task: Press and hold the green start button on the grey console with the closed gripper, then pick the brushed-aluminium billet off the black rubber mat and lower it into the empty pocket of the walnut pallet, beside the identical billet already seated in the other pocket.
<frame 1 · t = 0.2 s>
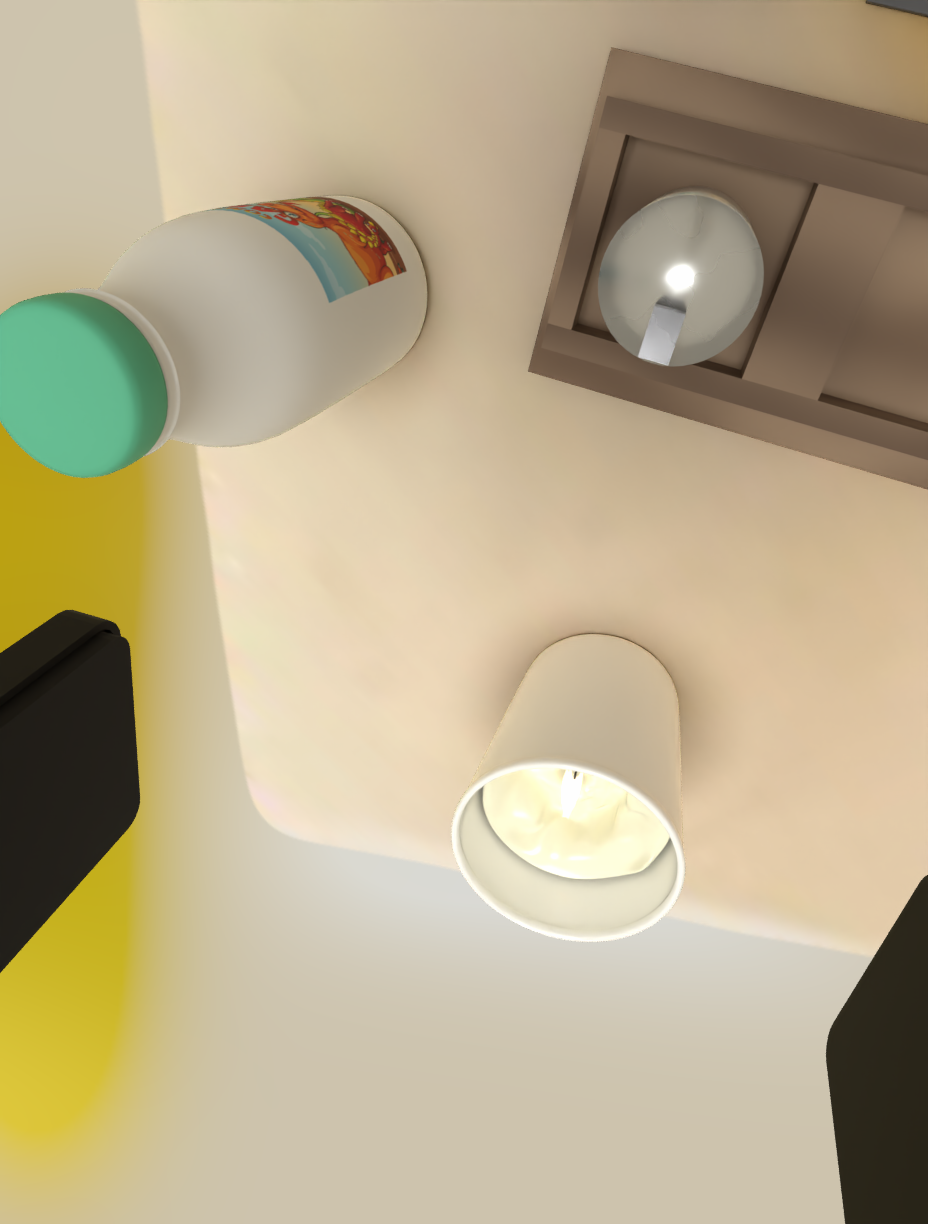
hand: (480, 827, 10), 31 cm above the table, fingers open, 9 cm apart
milk bottle: (352, 288, 38), on the table
candle holder: (599, 697, 45), on the table
pallet: (811, 287, 33), on the table
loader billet: (687, 257, 33), point 1 cm above the table, touching pallet
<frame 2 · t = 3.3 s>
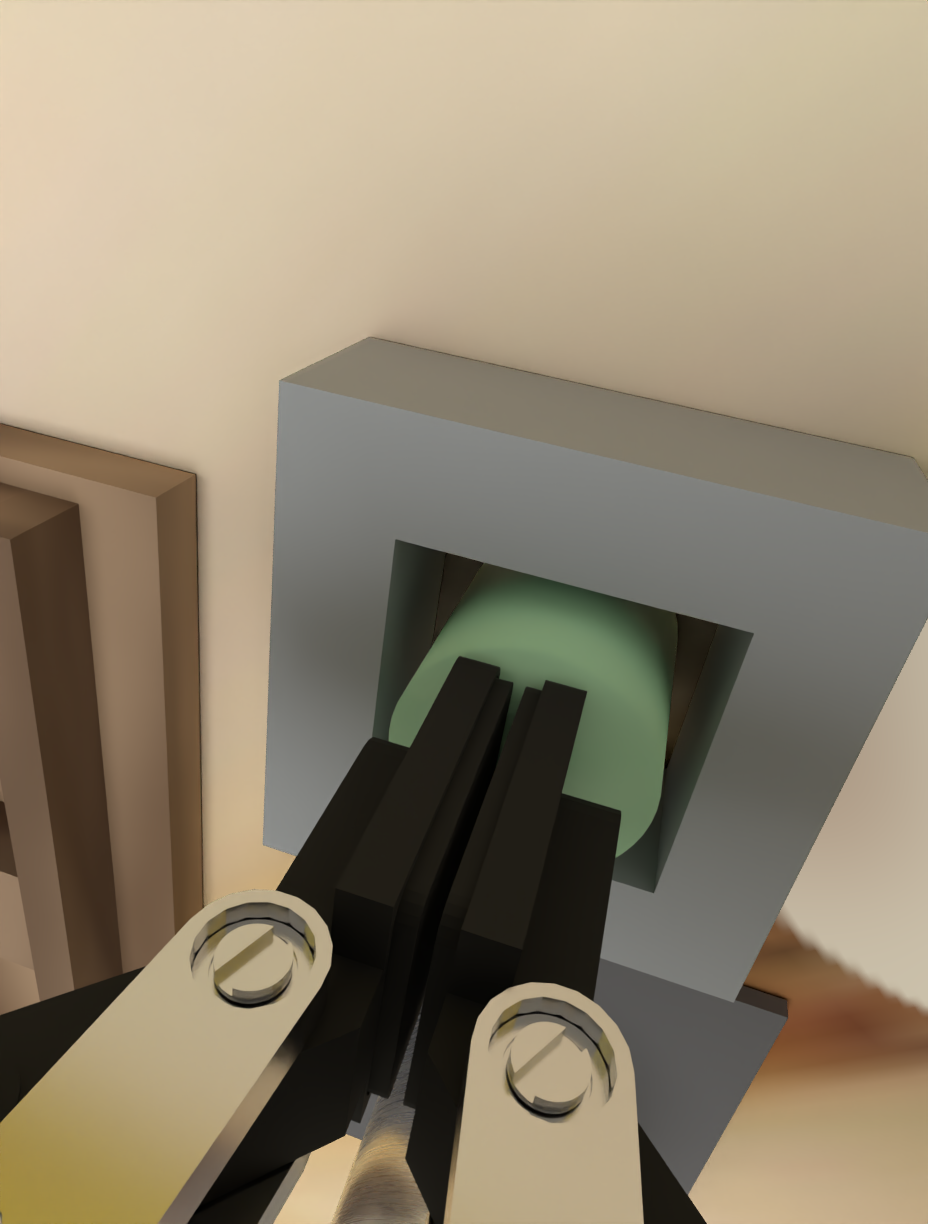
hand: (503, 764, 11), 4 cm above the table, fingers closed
billet: (499, 1074, 20), resting on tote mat
start button: (546, 690, 12), point 2 cm above the table, slide at 0.7 cm, touching gripper
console: (568, 626, 14), on the table
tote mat: (504, 1058, 20), on the table
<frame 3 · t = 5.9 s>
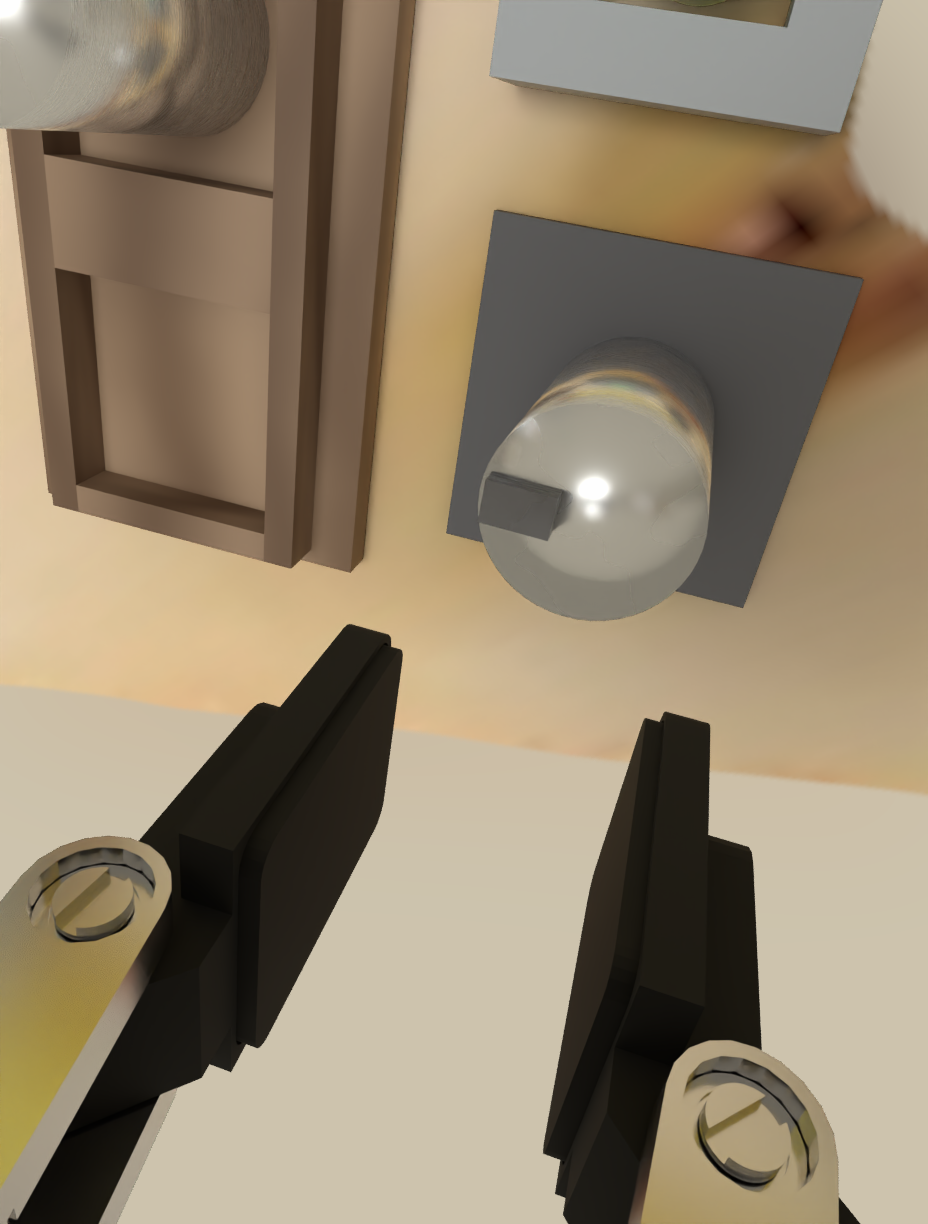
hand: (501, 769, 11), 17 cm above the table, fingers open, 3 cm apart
billet: (627, 423, 25), resting on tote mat
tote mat: (628, 419, 25), on the table
pallet: (209, 228, 26), on the table
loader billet: (184, 30, 22), point 1 cm above the table, touching pallet
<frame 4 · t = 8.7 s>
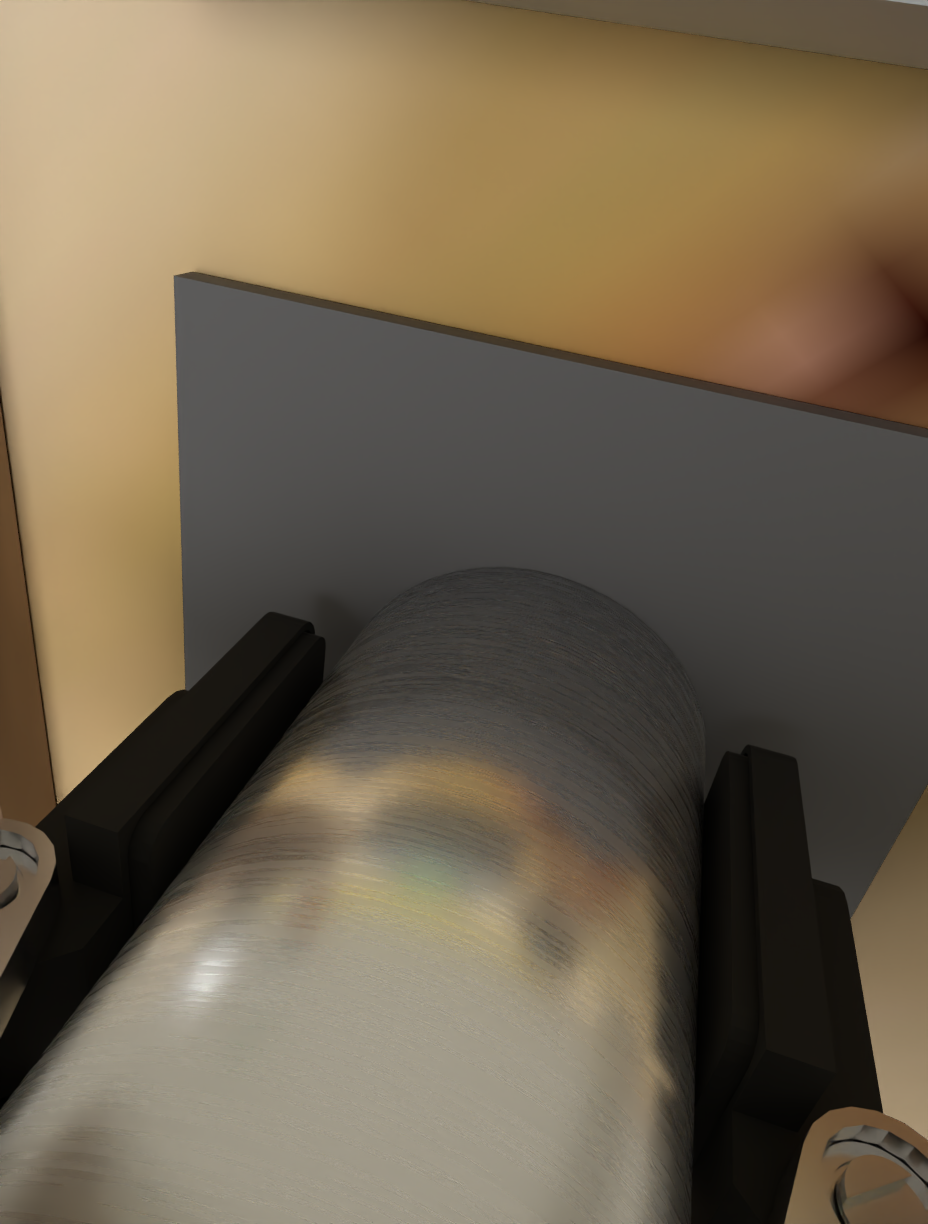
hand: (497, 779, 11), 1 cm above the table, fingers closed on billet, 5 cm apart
billet: (514, 734, 11), resting on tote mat, touching gripper
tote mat: (520, 716, 12), on the table
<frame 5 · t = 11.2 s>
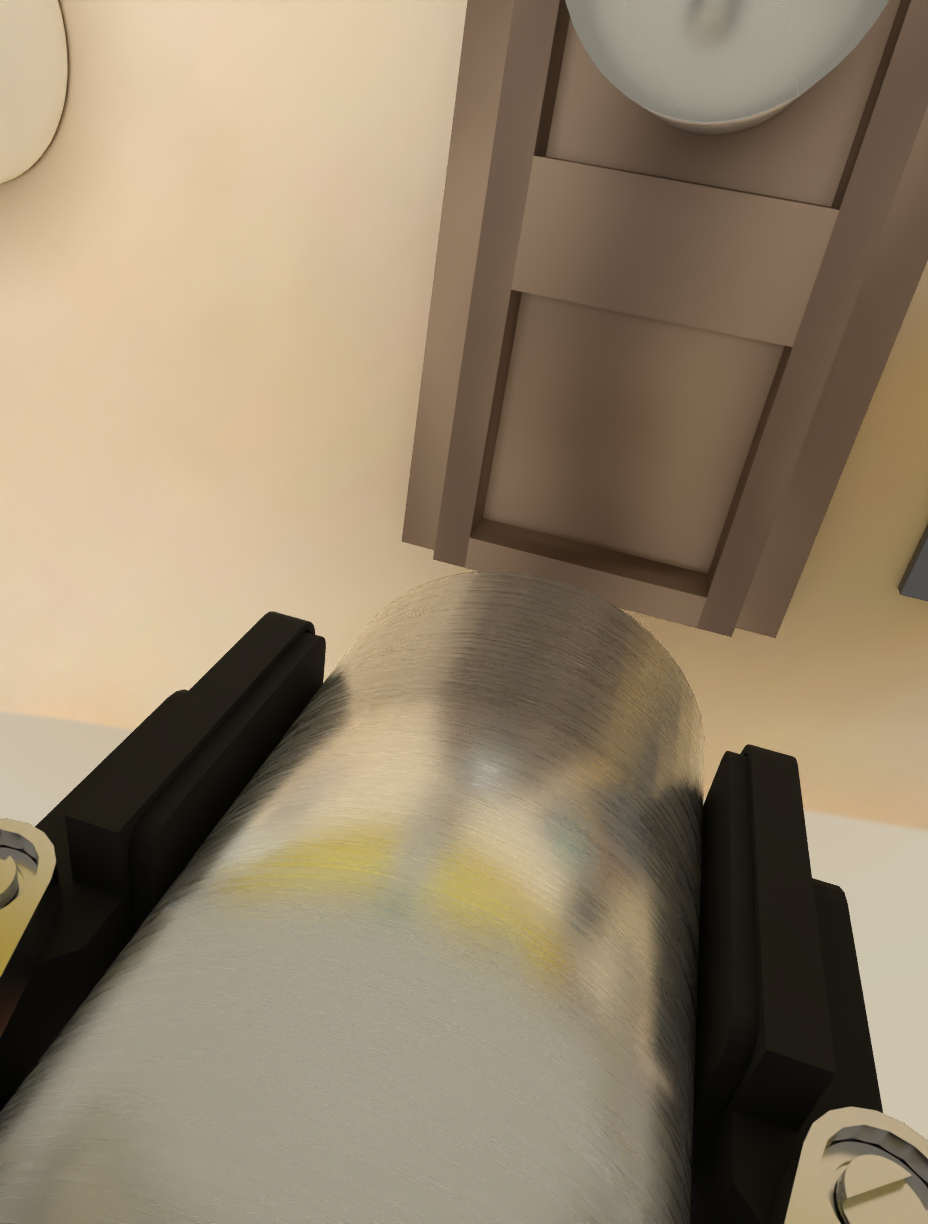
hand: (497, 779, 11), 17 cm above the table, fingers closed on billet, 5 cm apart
billet: (513, 737, 11), point 16 cm above the table, touching gripper
pallet: (670, 242, 22), on the table
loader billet: (728, 6, 19), point 1 cm above the table, touching pallet
when the fingers open (4 cm above the table, at t = 13.8 s): billet drops 2 cm, resting on pallet.
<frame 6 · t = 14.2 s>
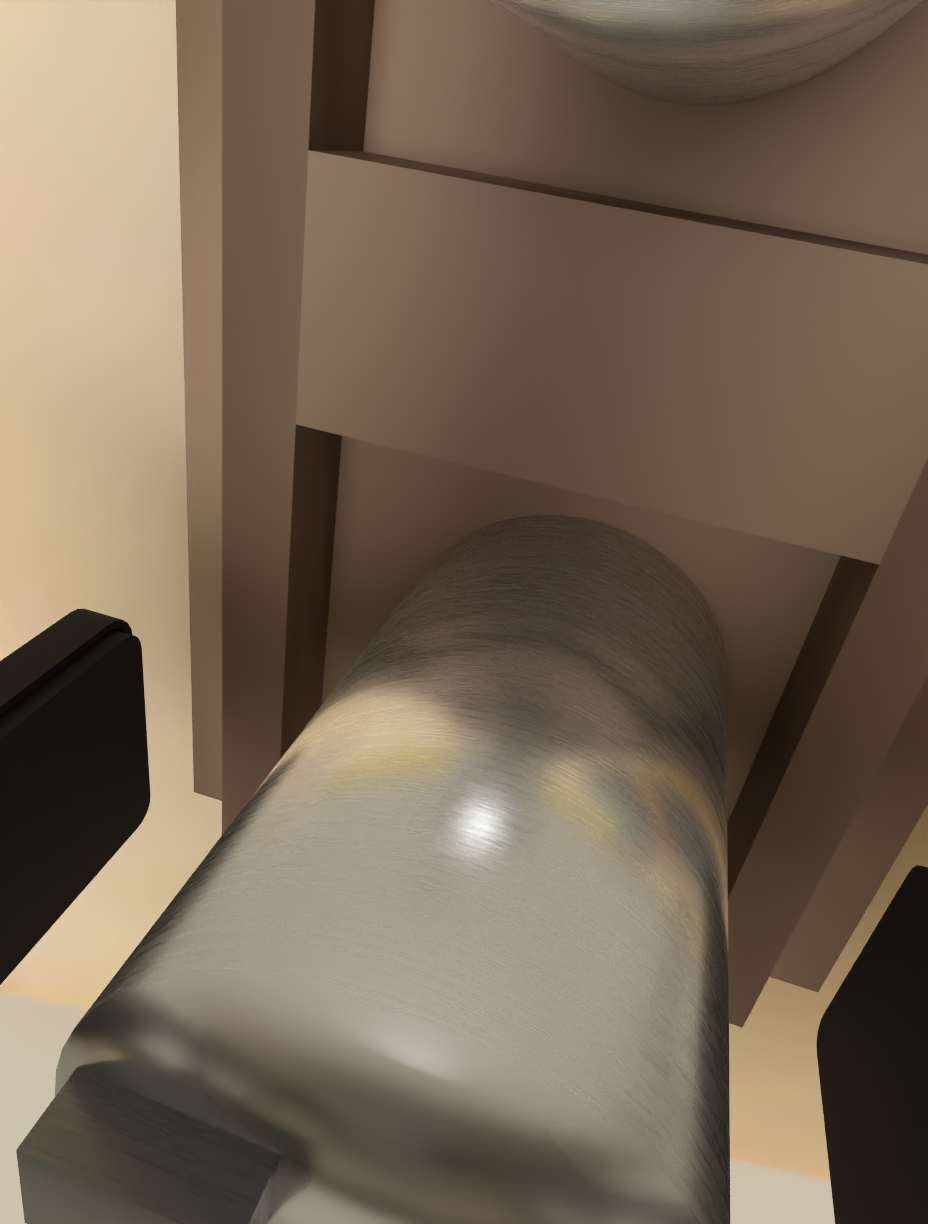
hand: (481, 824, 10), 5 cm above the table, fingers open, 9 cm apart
billet: (555, 668, 13), point 1 cm above the table, touching pallet
pallet: (625, 320, 11), on the table
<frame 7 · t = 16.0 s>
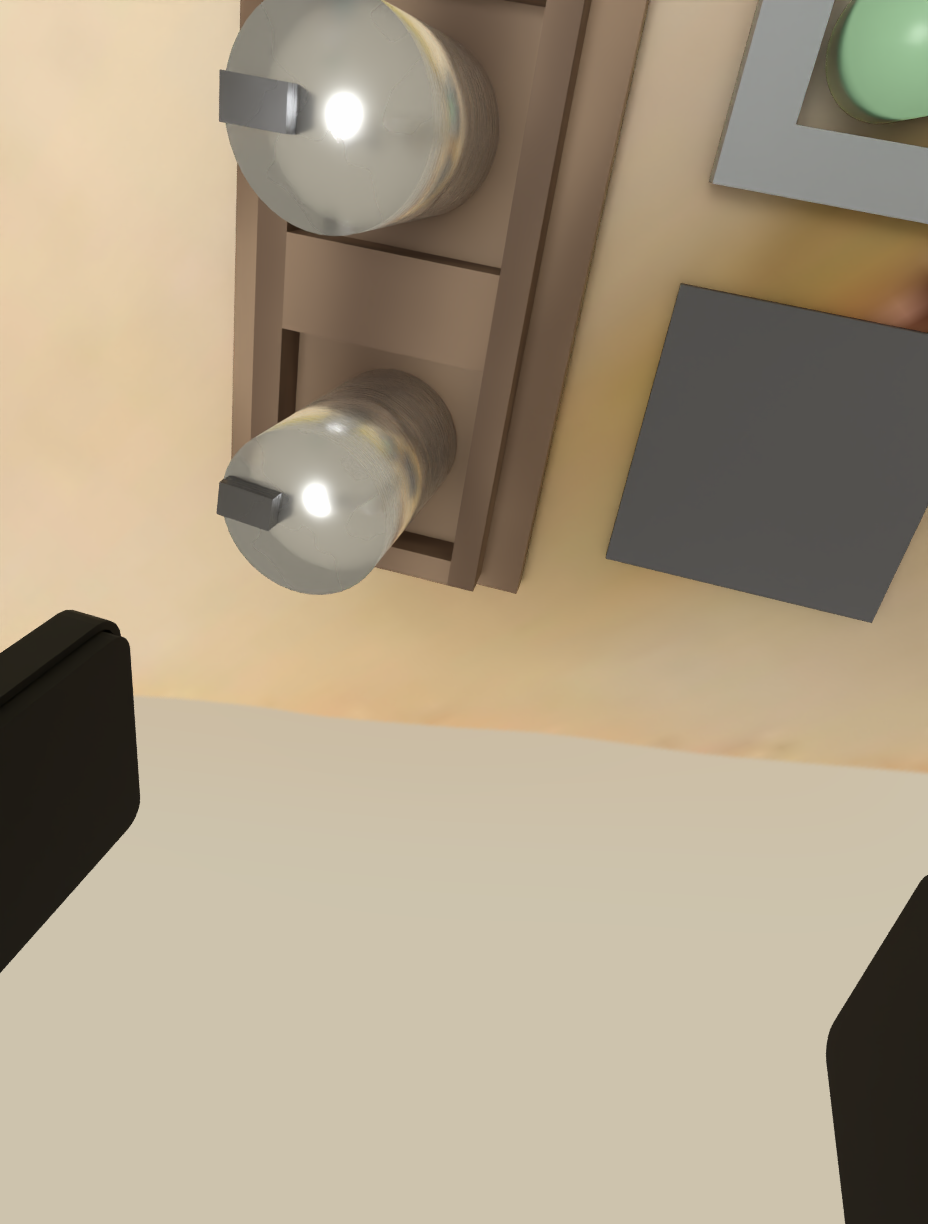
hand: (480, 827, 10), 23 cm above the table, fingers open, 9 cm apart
billet: (390, 438, 31), point 1 cm above the table, touching pallet
start button: (911, 40, 22), point 2 cm above the table, slide at 0.8 cm
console: (895, 49, 23), on the table
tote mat: (781, 461, 29), on the table
pallet: (410, 291, 29), on the table
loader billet: (419, 127, 26), point 1 cm above the table, touching pallet
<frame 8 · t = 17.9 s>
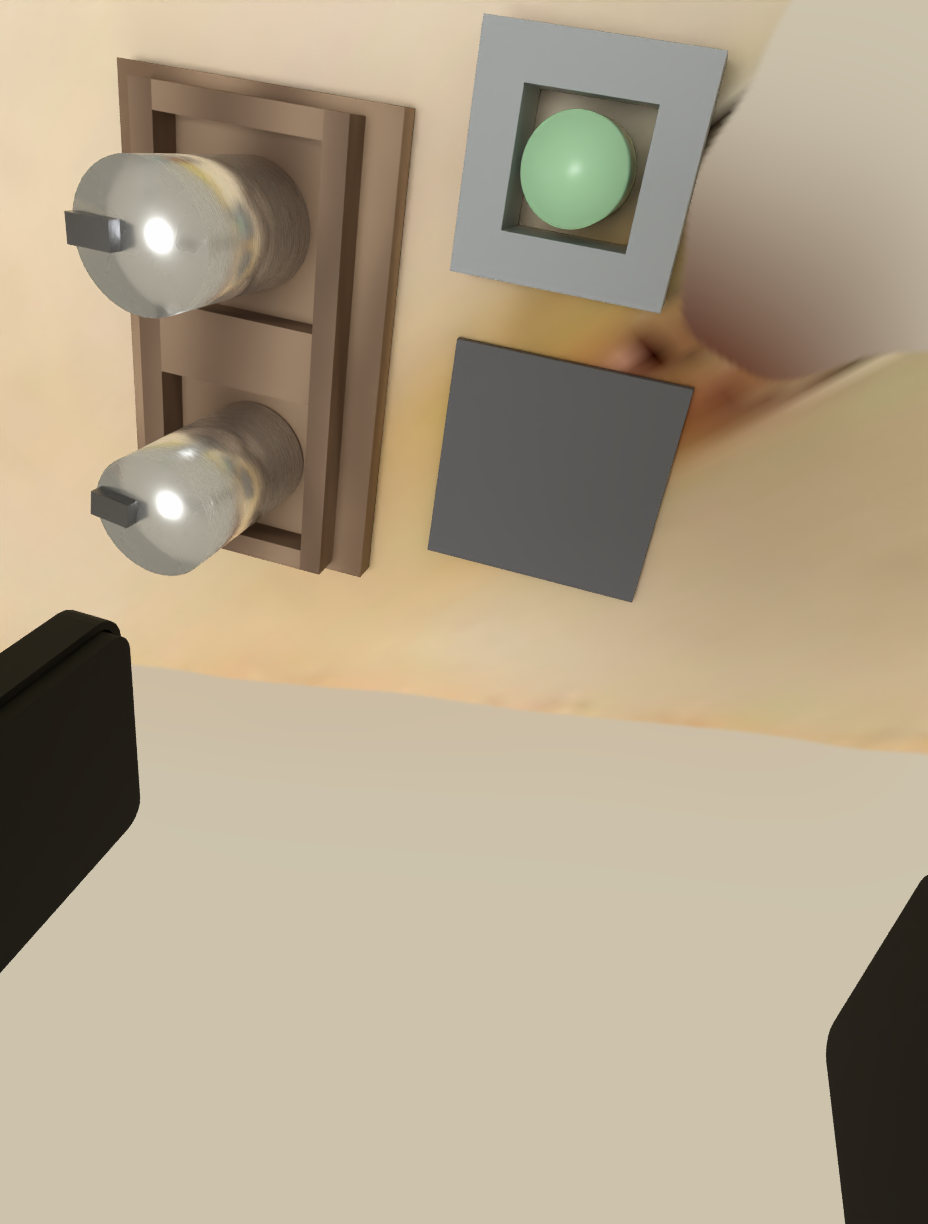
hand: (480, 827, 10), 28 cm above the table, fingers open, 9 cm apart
billet: (254, 454, 39), point 1 cm above the table, touching pallet
start button: (580, 170, 30), point 2 cm above the table, slide at 0.8 cm
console: (587, 169, 31), on the table
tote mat: (550, 474, 37), on the table
pallet: (264, 341, 38), on the table
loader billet: (254, 223, 34), point 1 cm above the table, touching pallet
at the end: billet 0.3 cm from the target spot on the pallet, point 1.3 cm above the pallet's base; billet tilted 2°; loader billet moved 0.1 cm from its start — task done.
